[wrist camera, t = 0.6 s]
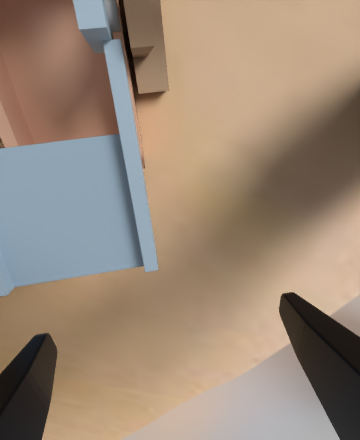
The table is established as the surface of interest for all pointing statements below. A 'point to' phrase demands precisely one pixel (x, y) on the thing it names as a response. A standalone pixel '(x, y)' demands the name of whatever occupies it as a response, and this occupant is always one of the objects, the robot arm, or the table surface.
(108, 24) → the lever
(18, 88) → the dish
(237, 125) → the table surface
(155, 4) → the stand
